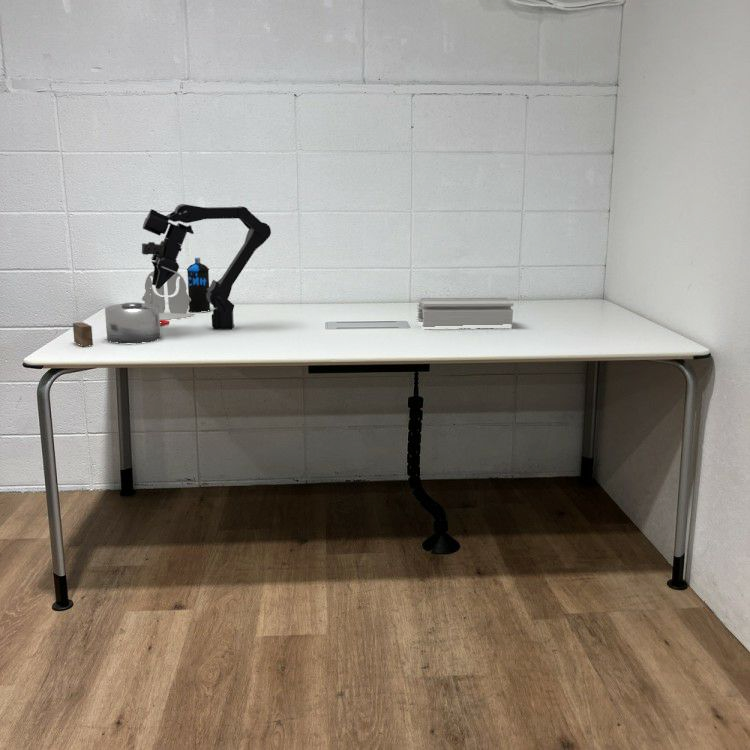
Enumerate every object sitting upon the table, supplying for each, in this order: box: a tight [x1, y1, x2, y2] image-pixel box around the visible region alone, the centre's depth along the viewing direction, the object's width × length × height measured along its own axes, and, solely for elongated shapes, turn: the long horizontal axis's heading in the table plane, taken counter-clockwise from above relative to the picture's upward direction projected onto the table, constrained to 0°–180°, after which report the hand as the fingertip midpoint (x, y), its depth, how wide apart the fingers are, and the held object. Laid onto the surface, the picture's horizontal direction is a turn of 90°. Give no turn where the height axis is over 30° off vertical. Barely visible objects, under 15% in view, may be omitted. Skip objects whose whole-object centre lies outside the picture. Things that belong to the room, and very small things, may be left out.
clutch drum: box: [104, 302, 161, 344], centre depth 248 cm, size 16×16×11 cm
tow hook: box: [149, 287, 170, 327], centre depth 273 cm, size 8×13×9 cm
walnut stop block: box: [72, 321, 94, 347], centre depth 240 cm, size 3×8×6 cm, turn 38°
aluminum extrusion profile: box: [416, 297, 514, 327], centre depth 276 cm, size 14×31×10 cm, turn 96°
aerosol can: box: [186, 257, 211, 313], centre depth 299 cm, size 8×8×20 cm
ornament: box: [141, 270, 196, 321], centre depth 286 cm, size 22×13×17 cm, turn 81°
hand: (155, 286), depth 256 cm, fingers open, 9 cm apart
